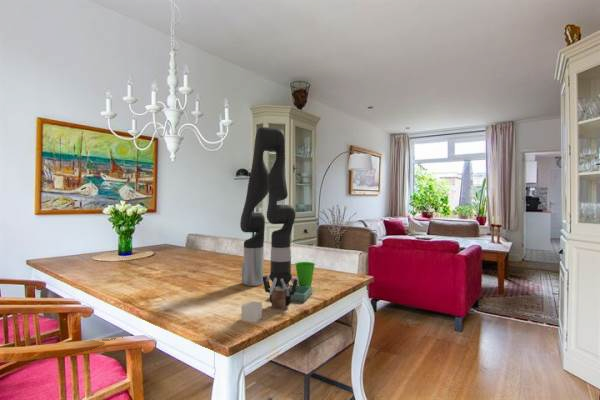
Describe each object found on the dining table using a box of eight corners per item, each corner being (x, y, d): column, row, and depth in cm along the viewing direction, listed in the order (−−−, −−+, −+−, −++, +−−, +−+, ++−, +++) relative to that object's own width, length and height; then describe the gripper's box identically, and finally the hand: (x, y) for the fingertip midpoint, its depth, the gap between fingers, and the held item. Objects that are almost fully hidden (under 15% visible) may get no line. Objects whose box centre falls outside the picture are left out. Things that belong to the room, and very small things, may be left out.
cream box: (241, 320, 105) (241, 305, 105) (248, 315, 110) (248, 301, 110) (255, 322, 104) (255, 307, 104) (261, 317, 109) (261, 302, 109)
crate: (269, 298, 128) (269, 291, 128) (279, 291, 139) (279, 284, 139) (304, 302, 124) (304, 294, 124) (312, 294, 135) (312, 286, 135)
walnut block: (271, 308, 117) (271, 291, 117) (276, 303, 122) (276, 288, 122) (284, 309, 116) (284, 292, 116) (288, 305, 121) (289, 289, 121)
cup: (297, 292, 138) (297, 266, 138) (292, 286, 147) (292, 262, 146) (317, 290, 140) (317, 265, 140) (311, 285, 149) (311, 261, 149)
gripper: (258, 259, 117) (258, 305, 118) (296, 262, 113) (295, 310, 113) (266, 255, 125) (266, 299, 125) (302, 258, 120) (301, 303, 121)
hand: (280, 304), depth 119 cm, fingers closed on walnut block, 5 cm apart
